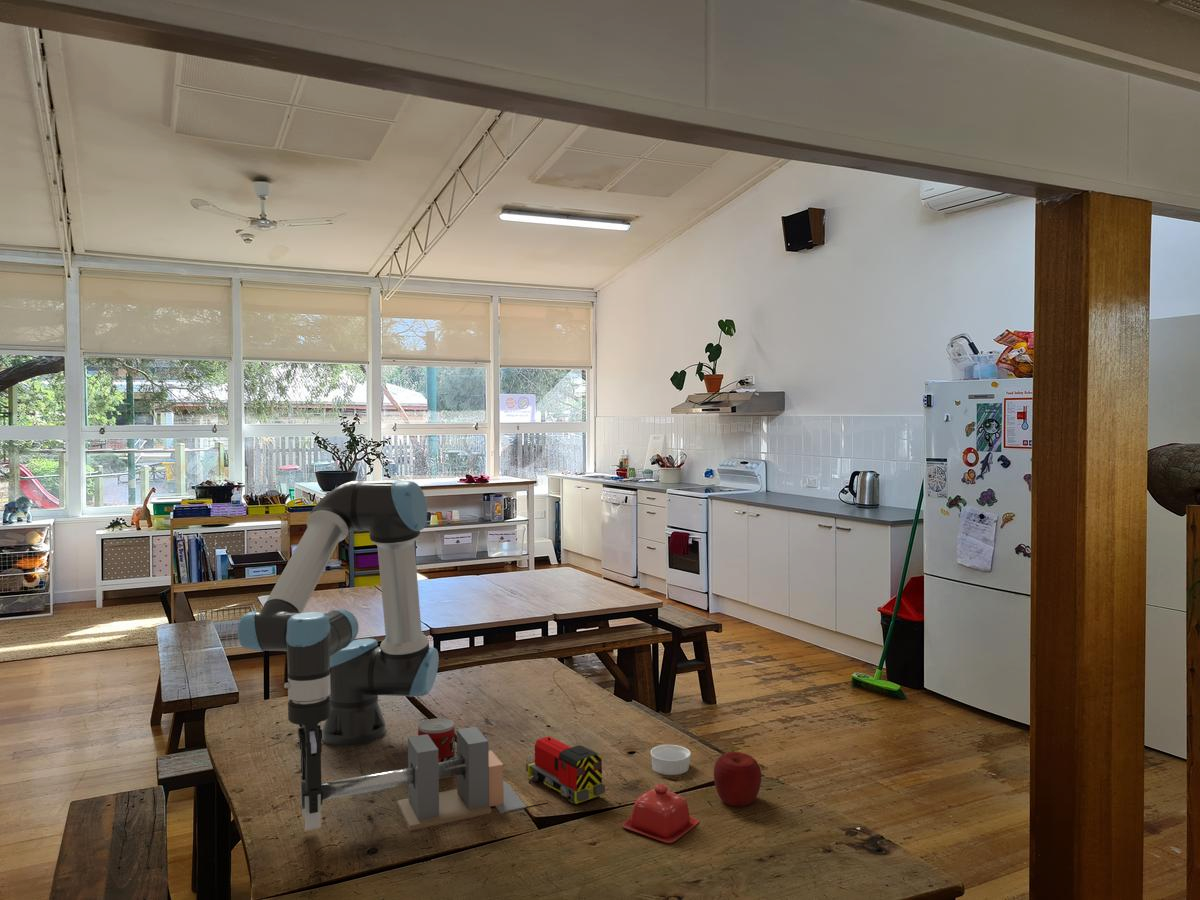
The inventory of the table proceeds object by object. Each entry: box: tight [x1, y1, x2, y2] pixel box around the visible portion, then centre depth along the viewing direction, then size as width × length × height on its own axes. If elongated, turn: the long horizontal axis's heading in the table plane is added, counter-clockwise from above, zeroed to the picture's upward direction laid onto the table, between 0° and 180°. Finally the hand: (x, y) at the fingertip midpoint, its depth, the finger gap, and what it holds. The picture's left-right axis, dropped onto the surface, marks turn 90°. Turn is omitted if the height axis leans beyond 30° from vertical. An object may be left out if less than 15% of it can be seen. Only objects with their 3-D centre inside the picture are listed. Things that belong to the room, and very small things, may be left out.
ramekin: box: [650, 744, 692, 776], centre depth 184 cm, size 9×9×4 cm
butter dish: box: [622, 783, 700, 844], centre depth 158 cm, size 12×12×8 cm
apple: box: [713, 751, 762, 808], centre depth 168 cm, size 10×10×10 cm
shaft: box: [299, 758, 466, 810], centre depth 161 cm, size 31×5×5 cm, turn 115°
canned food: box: [417, 717, 456, 780], centre depth 183 cm, size 8×8×11 cm
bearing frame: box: [396, 726, 492, 832], centre depth 166 cm, size 16×12×14 cm
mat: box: [494, 779, 527, 814], centre depth 172 cm, size 14×10×1 cm
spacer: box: [489, 750, 504, 808], centre depth 170 cm, size 8×3×8 cm, turn 25°
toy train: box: [525, 735, 606, 805], centre depth 175 cm, size 7×19×10 cm, turn 38°
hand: (311, 821), depth 156 cm, fingers closed on shaft, 5 cm apart
